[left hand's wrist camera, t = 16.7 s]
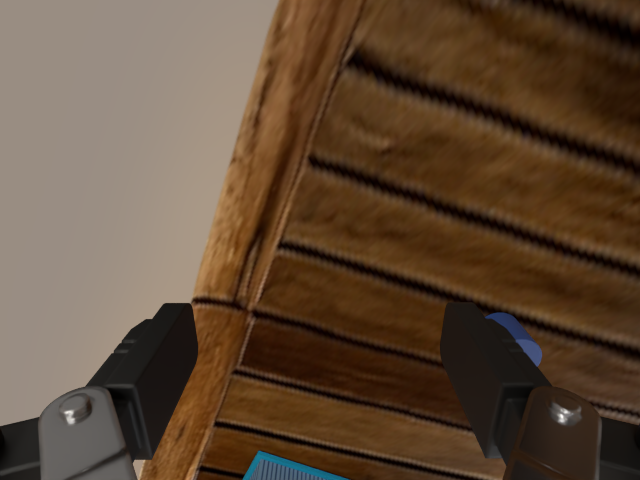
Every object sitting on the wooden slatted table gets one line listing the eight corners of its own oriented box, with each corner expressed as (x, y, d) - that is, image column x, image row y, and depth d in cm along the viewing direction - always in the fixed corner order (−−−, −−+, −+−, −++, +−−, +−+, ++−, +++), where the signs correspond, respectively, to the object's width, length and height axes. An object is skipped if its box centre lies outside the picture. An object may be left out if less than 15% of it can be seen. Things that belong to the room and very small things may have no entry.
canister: (465, 331, 40) (482, 359, 36) (501, 304, 39) (523, 330, 34) (491, 355, 41) (510, 386, 37) (527, 330, 40) (551, 359, 36)
